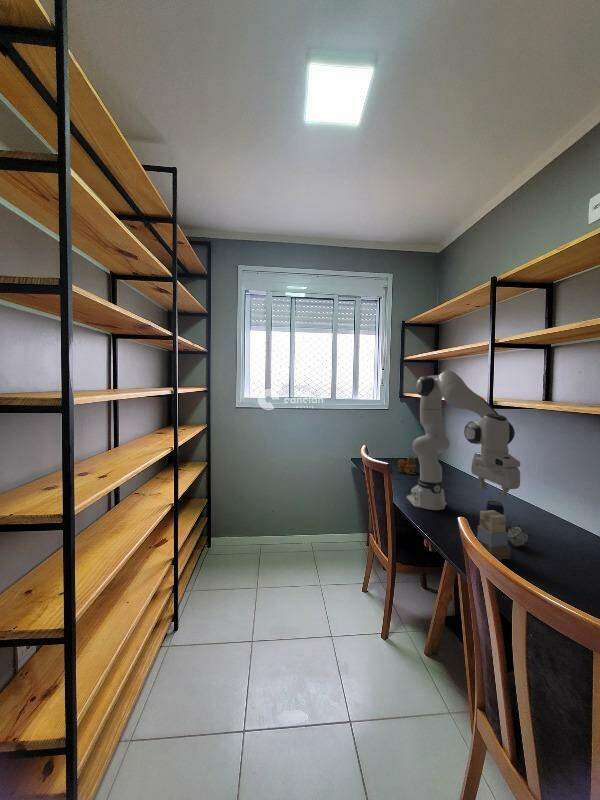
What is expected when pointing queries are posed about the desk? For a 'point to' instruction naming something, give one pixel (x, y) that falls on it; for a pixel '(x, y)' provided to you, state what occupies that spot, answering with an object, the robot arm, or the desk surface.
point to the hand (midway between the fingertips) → (492, 492)
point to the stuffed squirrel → (407, 465)
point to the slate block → (493, 537)
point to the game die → (517, 536)
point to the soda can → (495, 507)
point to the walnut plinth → (498, 551)
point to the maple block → (492, 521)
